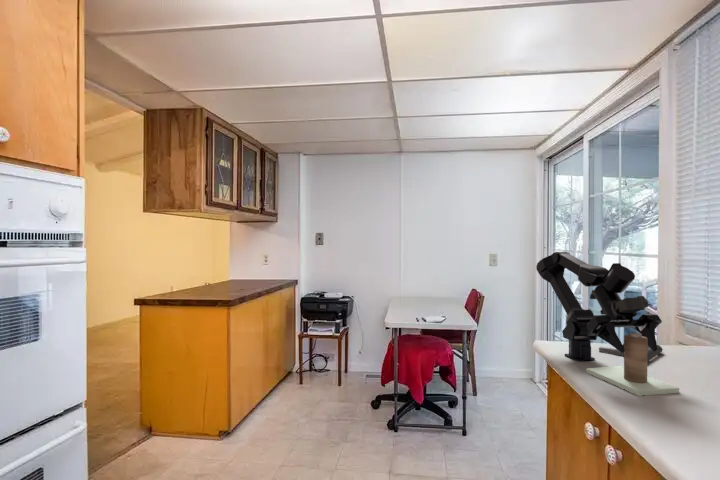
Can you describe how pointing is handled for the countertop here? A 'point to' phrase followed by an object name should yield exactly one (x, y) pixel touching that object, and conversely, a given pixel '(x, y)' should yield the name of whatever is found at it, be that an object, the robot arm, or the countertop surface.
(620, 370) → the serving board
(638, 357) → the brown capped cylinder
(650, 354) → the door handle
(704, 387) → the countertop surface
